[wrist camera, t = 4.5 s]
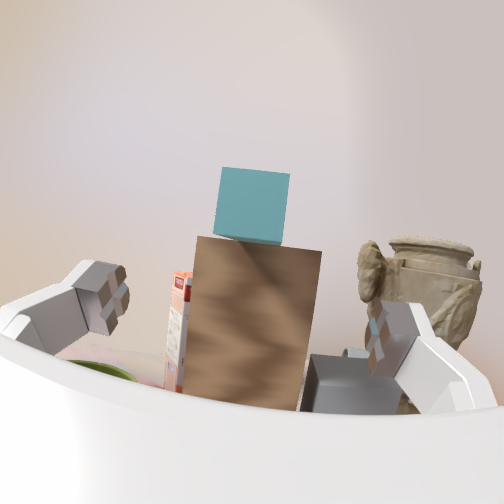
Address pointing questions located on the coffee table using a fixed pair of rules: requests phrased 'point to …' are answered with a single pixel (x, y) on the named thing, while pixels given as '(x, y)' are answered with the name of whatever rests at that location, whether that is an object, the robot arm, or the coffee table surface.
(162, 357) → the coffee table surface
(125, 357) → the coffee table surface
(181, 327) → the cracker box
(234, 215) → the teal bar
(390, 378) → the grey block
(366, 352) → the ceramic mug
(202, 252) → the walnut tower
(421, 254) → the urn
